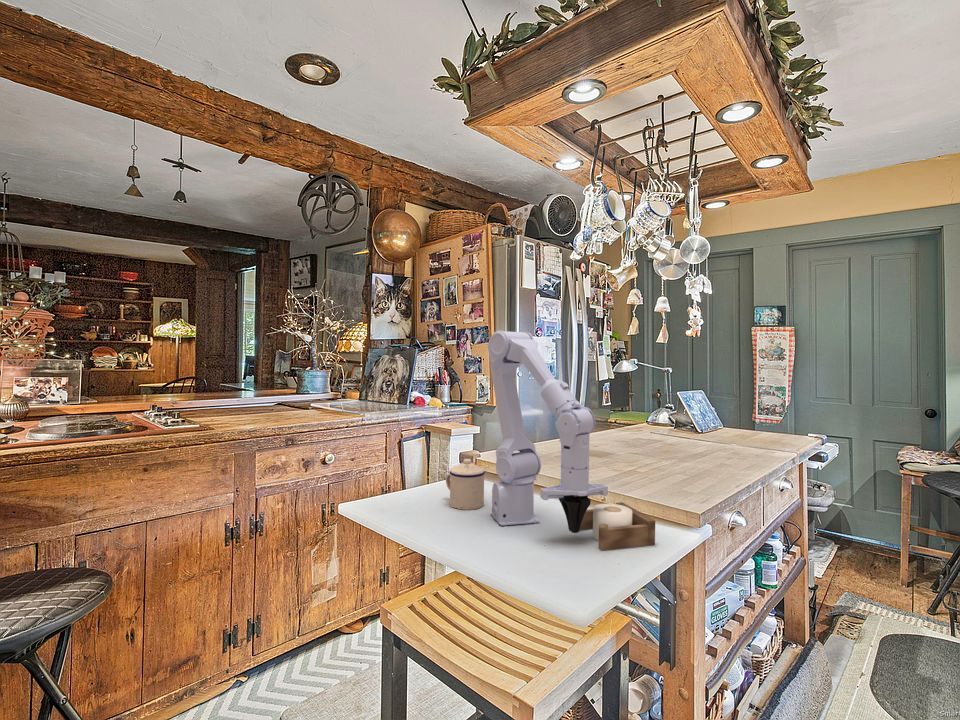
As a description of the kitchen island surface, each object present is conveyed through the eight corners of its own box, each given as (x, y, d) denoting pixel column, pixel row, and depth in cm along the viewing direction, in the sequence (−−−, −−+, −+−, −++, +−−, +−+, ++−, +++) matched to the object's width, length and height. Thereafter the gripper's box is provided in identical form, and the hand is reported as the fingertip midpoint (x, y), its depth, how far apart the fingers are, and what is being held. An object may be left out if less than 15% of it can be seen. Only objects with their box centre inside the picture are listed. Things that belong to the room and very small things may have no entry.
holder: (601, 551, 96) (601, 526, 96) (572, 528, 108) (572, 505, 108) (655, 545, 99) (656, 521, 99) (621, 523, 112) (621, 501, 112)
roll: (604, 546, 99) (605, 516, 98) (586, 532, 106) (586, 504, 106) (639, 543, 101) (640, 513, 100) (618, 529, 108) (619, 502, 108)
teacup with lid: (492, 504, 124) (492, 459, 124) (467, 513, 118) (468, 465, 117) (458, 495, 132) (459, 452, 132) (433, 502, 126) (434, 457, 125)
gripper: (550, 472, 95) (549, 541, 96) (616, 468, 99) (614, 535, 100) (536, 464, 102) (535, 528, 102) (598, 461, 106) (597, 523, 106)
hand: (573, 531), depth 101 cm, fingers closed
